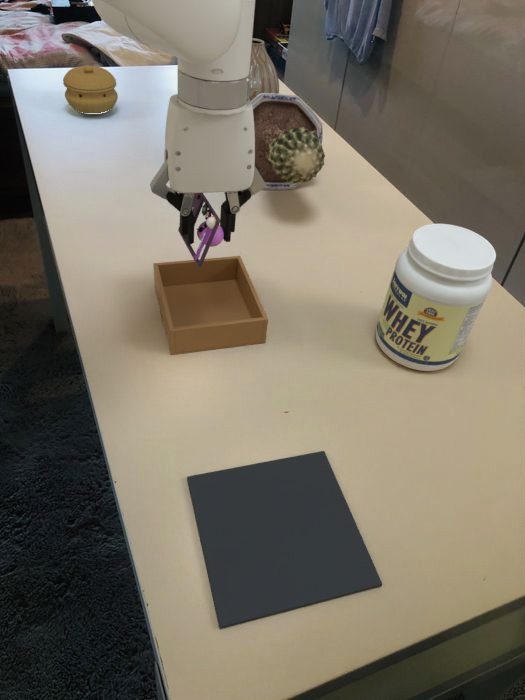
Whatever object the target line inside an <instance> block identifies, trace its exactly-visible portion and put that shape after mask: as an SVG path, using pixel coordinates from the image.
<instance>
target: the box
mask: <svg viewBox="0 0 525 700" xmlns="http://www.w3.org/2000/svg"><path fill="white" fill-rule="evenodd" d="M198 259H199V261H200V258H198ZM152 265H153V282H154V283H153V284H154V290H155V294H156V298H157V303H158V307H159V312H160V316H161V320H162V324H163V328H164V332H165V337H166V340H167V345H168V349H169V354H170V356H173V355H181V354H188V353H199V352H205V351H212V350H220V349H221V350H222V349H228V348H235V347H244V346H249V345H250V346H251V345H252V346H253V345H259V344H264V343H266V339H267V334H268V333H267V332H268V324H269V318H268V315H267V313H266V311H265V309H264V306H263V305H262V301H261V300H260V297H259V295H258V293H257V291H256V288H255V286H254V284H253V281H252V279H251V277H250V275H249V272H248V270H247V268H246V265H245V263H244V262H243V258H242V256H241V255H235V256H234V255H233V256H221V257H211V258H210V257H209V258H205V259H204V262H203V264H202V266H201V267H198V266H197V264H196V262H195V261H194V259H187V260H178V261H177V260H176V261H175V260H174V261H165V262H154V263H152Z"/></svg>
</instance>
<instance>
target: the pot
mask: <svg viewBox="0 0 525 700" xmlns="http://www.w3.org/2000/svg"><path fill="white" fill-rule="evenodd" d="M62 82H63V83H62V84H63V86H64V87H65V88H66V89H65V91H64V97H65V99H66V102H67V103H68V104H69V106H70V107H71V108H72V109H73V110H74V111H76V110H77V111H76V112H78V111H79V112H78V113H79V114H82V115H87V116H100V115H104V114H107V113H108V112H106V113H102V114H84V113H101V112H105V111H108V110H110V109H112V110H113V109H114V107H115V106H116V103H117V101H118V98H119V97H118V96H119V94H118V92H117V90H116V89H115V88H116V87H117V79H116V78H115V76H114V75H113V74H112V73H111V72H110V71H109V70H107V69H105V68H103V67H100V66H94V65H90V64H86V65H79V66H75V67H72V68H71V69H69V70H68V71H67V72H66V74H64V76H63V79H62ZM110 111H111V110H110ZM80 112H83V113H80Z"/></svg>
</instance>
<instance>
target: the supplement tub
mask: <svg viewBox="0 0 525 700" xmlns="http://www.w3.org/2000/svg"><path fill="white" fill-rule="evenodd" d="M496 257H497V252H496V250H495V247H494V246H493V245H492V244H491V243H490V242H489V240H488V239H486V238H485V237H484V236H482V235H481V234H479V233H477V232H475V231H473V230H471V229H468V228H465V227H462V226H459V225H456V224H455V225H454V224H451V223H449V224H448V223H429V224H424V225H422V226H420V227H418V228H417V229H416V230H414V232H413V234H412V237H411V239H410V240H409V243H408V245H407V247H405V248H404V249H403V250H402V251H401V252H400V253H399V255H398V257H397V259H396V261H395V265H394V269H393V271H392V275H391V278H390V282H389V285H388V288H387V291H386V295H385V298H384V302H383V304H382V307H381V310H380V314H379V317H378V320H377V323H376V326H375V339H376V342H377V344H378V346H379V348H380V349H381V350H382V352H383V353H384V354H385V355H386V356H387V357H389V358H390V359H391V360H392V361H394V362H395V363H398V364H400V365H401V366H404V367H406V368H409V369H412V370H416V371H422V372H423V371H424V372H431V371H440V370H442V369H445V368H448V367H449V366H451V365H452V364H453V363H455V362H456V360H457V359H458V358H459V357H460V355H461V354H462V351H463V348H464V347H465V344H466V342H467V340H468V338H469V336H470V333H471V331H472V329H473V328H474V326H475V323H476V321H477V319H478V317H479V315H480V312H481V310H482V308H483V306H484V304H485V302H486V300H487V298H488V295H489V294H490V292H491V289H492V285H493V276H492V271H493V269H494V263H495V262H496V259H497V258H496Z"/></svg>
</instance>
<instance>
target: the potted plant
mask: <svg viewBox="0 0 525 700" xmlns="http://www.w3.org/2000/svg"><path fill="white" fill-rule="evenodd" d="M251 103H252V107H253V116H254V130H255V167H256V168H257V170H258V172H259V173H260V175H261V177H262V178H263V180H264V182H265V184H266V186H265V188H264V189H262V190H264V191H266V190H268V191H269V190H270V191H275V190H279V191H282V190H293V189H295V188H296V187H298V186H299V185H300V184H303V183H307V182H310V181H311V180H312V179H313V178H317V176H318V173H319V172H320V171H321V170H322V168H323V166H324V165H325V157H326V155H325V151H324V148H323V145H322V144H323V133H324V132H323V129H324V128H323V123H322V121H321V119H320V118H319V116H318V115H317V114H316V113H315V111H314V110H313V109H312V108H311V107H310V106H309V105H308V104H307V103H306V102H305V100H303V99H302V98H301V97H300V96H298V95H296V94H283V93H279V94H275V93H261V94H259V95H257V96H256V97H255V98H254V99H252V100H251ZM262 190H261V191H262Z"/></svg>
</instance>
